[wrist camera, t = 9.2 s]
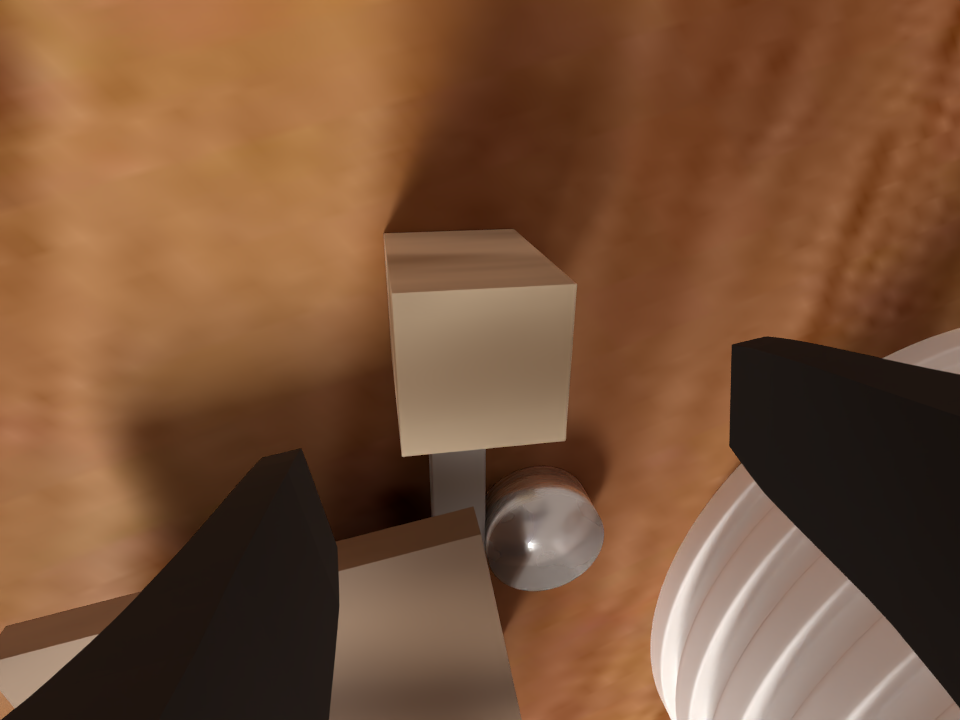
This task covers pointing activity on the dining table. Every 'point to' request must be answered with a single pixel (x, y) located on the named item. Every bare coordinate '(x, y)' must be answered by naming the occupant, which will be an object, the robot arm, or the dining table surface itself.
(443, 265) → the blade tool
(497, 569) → the cylinder
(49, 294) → the dining table surface
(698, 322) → the dining table surface
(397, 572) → the shelf
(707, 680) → the plate stack
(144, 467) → the dining table surface
